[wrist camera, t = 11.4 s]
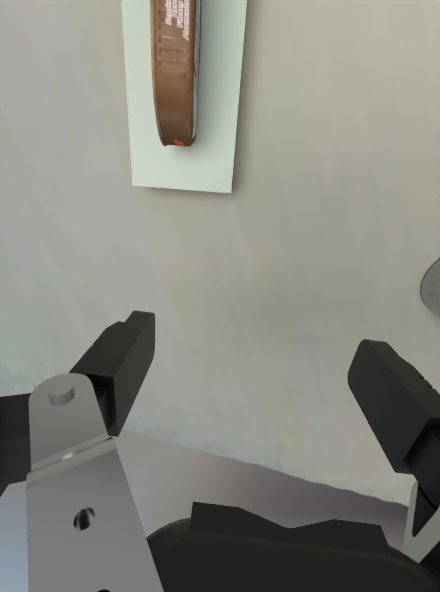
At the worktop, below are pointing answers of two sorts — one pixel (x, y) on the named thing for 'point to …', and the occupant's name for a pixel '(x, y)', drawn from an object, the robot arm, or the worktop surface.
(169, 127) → the tin
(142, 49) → the plinth
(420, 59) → the worktop surface
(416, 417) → the robot arm
